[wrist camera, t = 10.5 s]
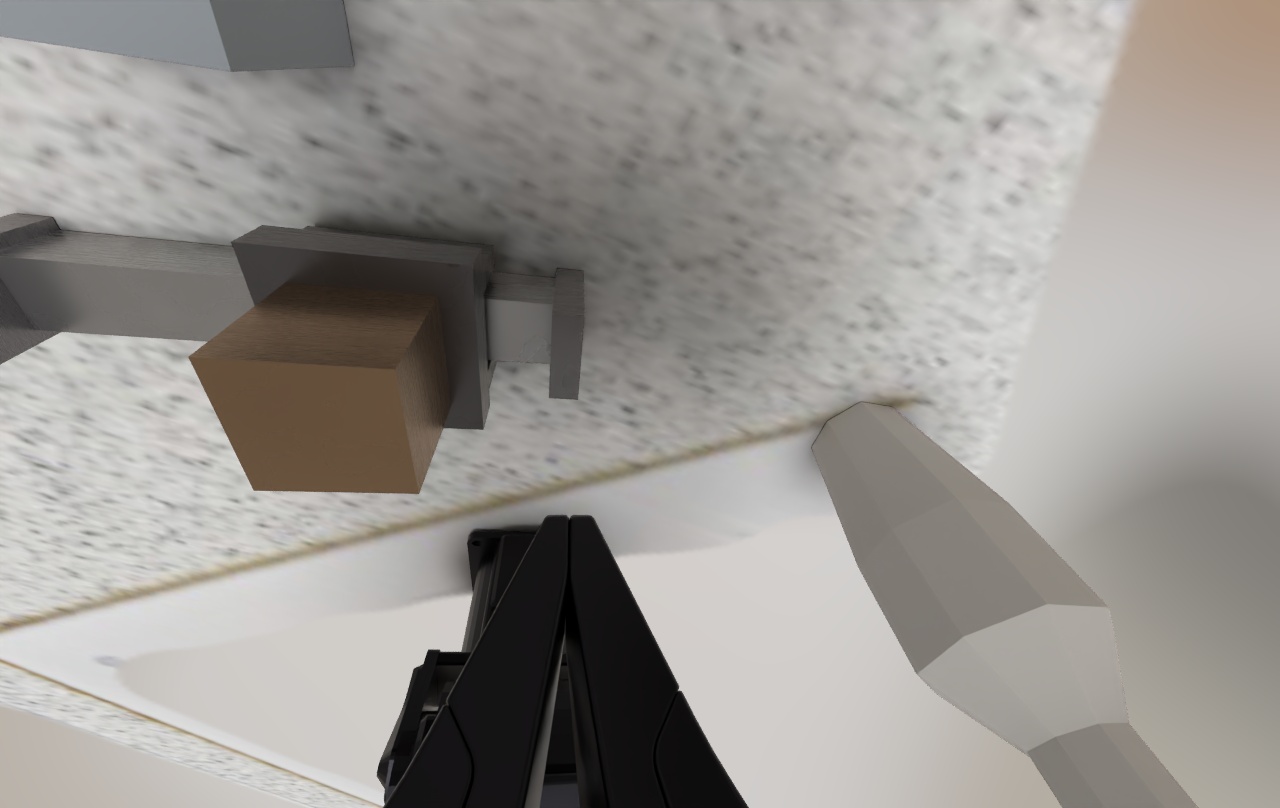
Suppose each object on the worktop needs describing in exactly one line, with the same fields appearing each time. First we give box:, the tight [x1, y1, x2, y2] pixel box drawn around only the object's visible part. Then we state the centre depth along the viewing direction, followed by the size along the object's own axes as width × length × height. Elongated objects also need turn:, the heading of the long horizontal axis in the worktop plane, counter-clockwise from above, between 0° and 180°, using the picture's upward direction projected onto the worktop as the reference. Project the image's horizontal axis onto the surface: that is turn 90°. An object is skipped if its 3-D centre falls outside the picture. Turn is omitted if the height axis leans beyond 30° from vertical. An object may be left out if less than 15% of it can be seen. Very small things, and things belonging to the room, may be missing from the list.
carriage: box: [189, 225, 497, 494], centre depth 14 cm, size 6×6×8 cm
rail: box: [0, 213, 584, 400], centre depth 16 cm, size 3×18×4 cm, turn 82°
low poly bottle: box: [811, 402, 1198, 808], centre depth 16 cm, size 6×6×22 cm
